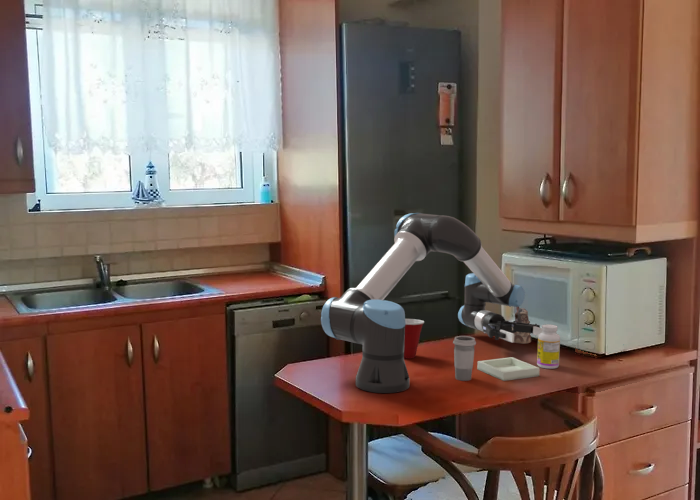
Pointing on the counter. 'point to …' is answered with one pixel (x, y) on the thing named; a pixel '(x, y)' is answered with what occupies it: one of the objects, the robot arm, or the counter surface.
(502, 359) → the tray
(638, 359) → the counter surface
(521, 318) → the figurine
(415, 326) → the plastic cup
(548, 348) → the supplement bottle
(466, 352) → the cup
